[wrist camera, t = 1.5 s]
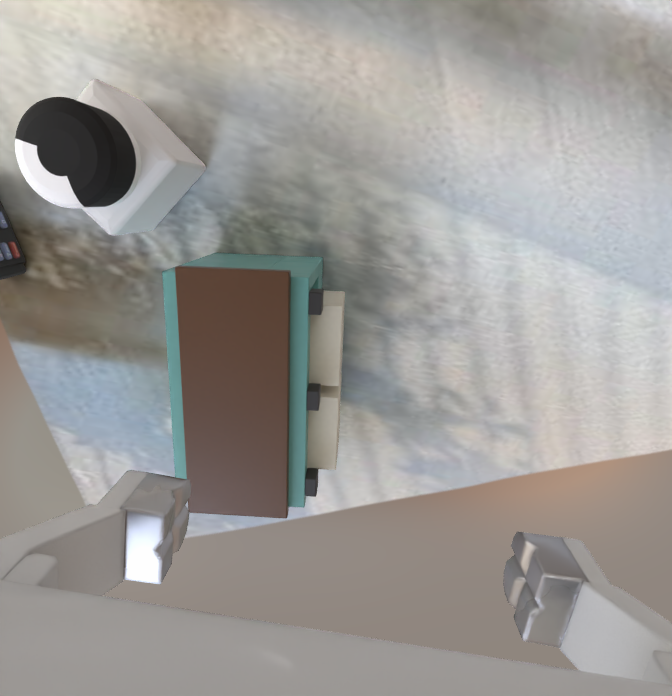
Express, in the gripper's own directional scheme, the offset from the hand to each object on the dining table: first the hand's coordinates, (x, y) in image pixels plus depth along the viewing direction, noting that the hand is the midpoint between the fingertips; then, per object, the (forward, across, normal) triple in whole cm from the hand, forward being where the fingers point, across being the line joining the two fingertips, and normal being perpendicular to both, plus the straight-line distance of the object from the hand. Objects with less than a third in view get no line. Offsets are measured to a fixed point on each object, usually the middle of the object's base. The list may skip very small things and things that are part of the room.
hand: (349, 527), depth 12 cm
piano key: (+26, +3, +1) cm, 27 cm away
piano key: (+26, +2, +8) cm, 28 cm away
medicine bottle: (+31, +18, -8) cm, 37 cm away
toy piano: (+31, +7, +5) cm, 32 cm away
